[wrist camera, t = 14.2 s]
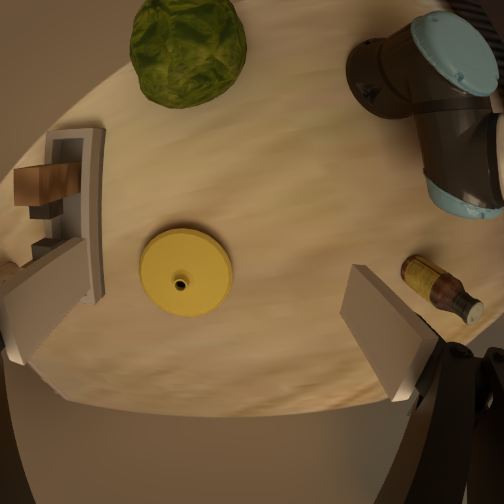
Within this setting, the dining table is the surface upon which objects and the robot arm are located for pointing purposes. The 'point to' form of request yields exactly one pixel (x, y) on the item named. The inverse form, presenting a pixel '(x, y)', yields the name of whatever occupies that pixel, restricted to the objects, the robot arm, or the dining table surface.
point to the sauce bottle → (441, 289)
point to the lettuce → (187, 50)
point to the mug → (8, 272)
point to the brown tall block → (46, 187)
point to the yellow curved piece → (185, 272)
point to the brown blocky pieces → (78, 202)
